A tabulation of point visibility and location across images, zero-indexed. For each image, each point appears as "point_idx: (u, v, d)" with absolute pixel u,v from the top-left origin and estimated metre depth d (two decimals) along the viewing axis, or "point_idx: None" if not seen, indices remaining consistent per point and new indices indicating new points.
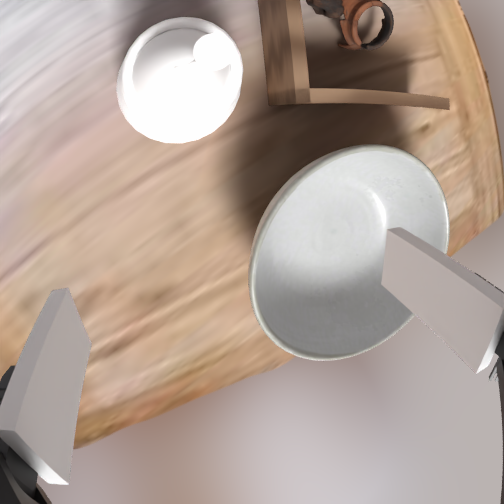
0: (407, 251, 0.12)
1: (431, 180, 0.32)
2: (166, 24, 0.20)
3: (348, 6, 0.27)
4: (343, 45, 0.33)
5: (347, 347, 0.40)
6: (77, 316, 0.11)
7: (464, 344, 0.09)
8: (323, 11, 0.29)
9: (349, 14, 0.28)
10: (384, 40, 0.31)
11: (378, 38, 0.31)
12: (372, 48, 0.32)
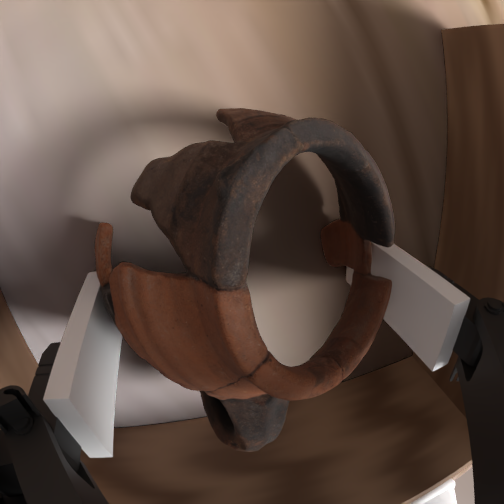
0: None
1: None
2: None
3: None
4: (343, 265, 0.13)
5: None
6: None
7: (420, 341, 0.09)
8: None
9: None
10: (363, 158, 0.08)
11: (343, 171, 0.09)
12: (391, 213, 0.10)
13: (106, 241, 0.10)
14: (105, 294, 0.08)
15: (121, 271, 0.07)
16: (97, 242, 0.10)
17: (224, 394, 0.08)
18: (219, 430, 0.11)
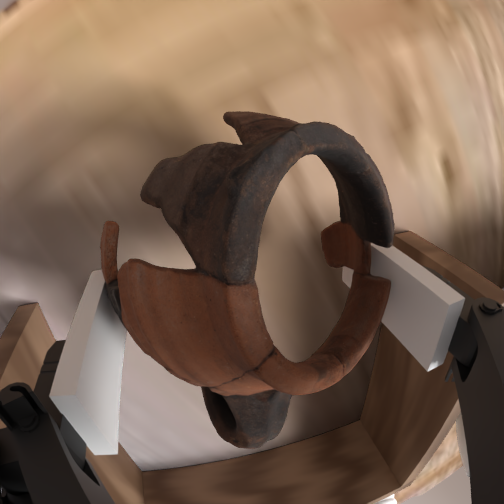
0: None
1: None
2: None
3: None
4: None
5: None
6: None
7: (415, 341, 0.09)
8: None
9: None
10: (365, 162, 0.09)
11: (345, 174, 0.09)
12: (391, 215, 0.10)
13: (113, 239, 0.10)
14: (112, 290, 0.09)
15: (131, 267, 0.07)
16: (103, 240, 0.10)
17: (228, 389, 0.09)
18: (220, 427, 0.11)
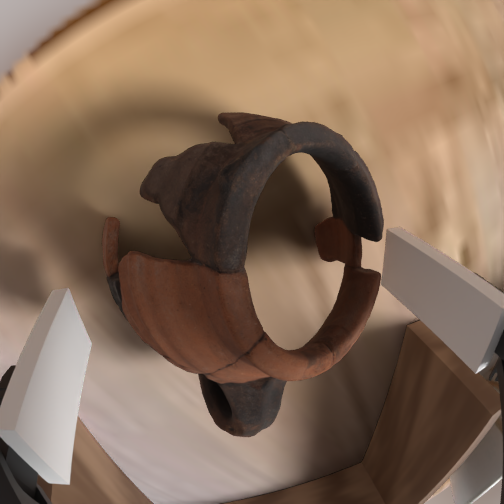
0: (406, 251, 0.12)
1: None
2: None
3: None
4: None
5: None
6: (77, 316, 0.11)
7: (464, 344, 0.09)
8: None
9: None
10: (352, 159, 0.09)
11: (334, 171, 0.10)
12: (380, 210, 0.10)
13: (114, 234, 0.10)
14: (113, 282, 0.09)
15: (131, 259, 0.08)
16: (105, 235, 0.10)
17: (223, 376, 0.09)
18: (217, 416, 0.12)
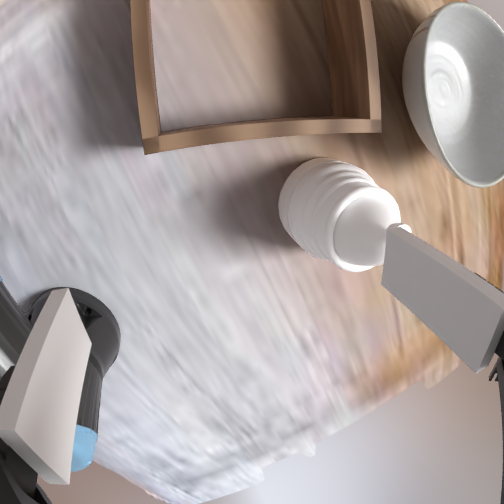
0: (407, 251, 0.12)
1: (438, 16, 0.24)
2: (331, 246, 0.33)
3: None
4: None
5: None
6: (77, 316, 0.11)
7: (464, 344, 0.09)
8: None
9: None
10: None
11: None
12: None
13: None
14: None
15: None
16: None
17: None
18: None
